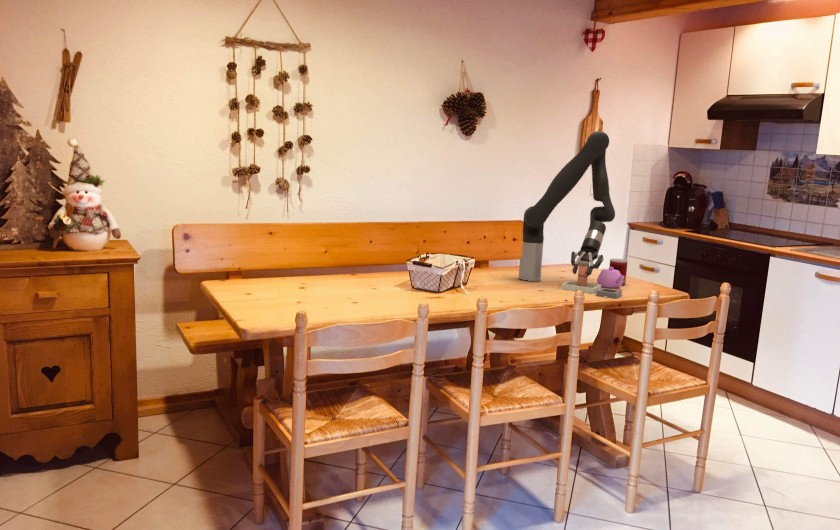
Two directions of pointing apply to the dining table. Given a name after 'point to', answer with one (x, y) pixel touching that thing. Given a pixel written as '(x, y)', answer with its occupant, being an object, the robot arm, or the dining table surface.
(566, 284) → the parts tray
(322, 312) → the dining table surface
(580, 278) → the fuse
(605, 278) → the teapot
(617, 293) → the socket block
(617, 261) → the canned food
